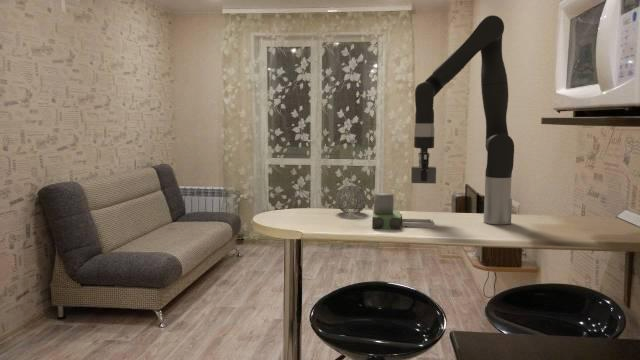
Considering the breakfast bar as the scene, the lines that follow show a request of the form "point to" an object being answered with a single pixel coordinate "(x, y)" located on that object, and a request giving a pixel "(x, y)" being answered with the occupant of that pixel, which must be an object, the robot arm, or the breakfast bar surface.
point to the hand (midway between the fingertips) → (423, 179)
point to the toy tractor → (393, 214)
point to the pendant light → (351, 193)
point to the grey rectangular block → (417, 174)
